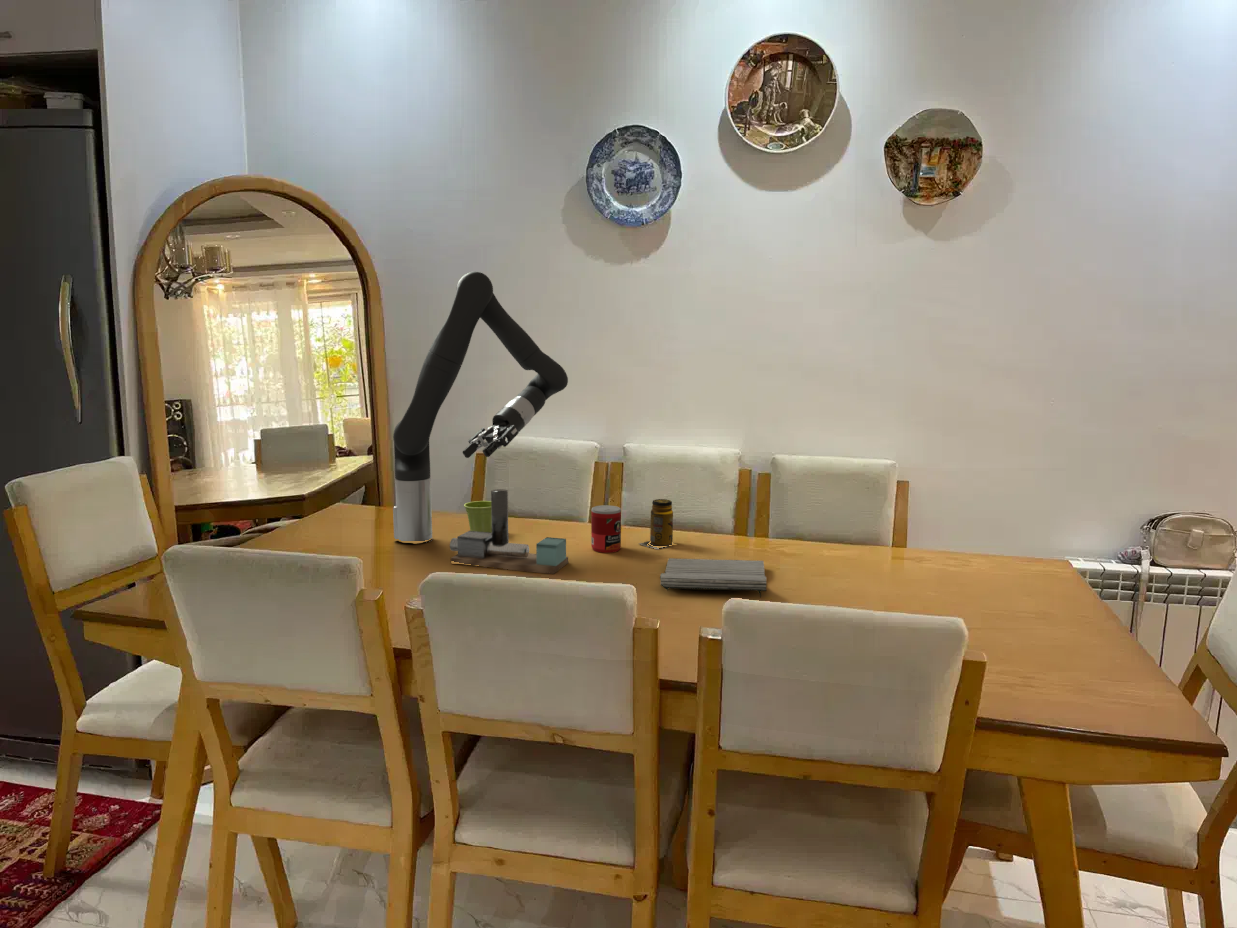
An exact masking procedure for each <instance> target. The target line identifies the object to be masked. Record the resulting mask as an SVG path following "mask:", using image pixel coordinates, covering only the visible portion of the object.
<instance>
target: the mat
mask: <svg viewBox="0 0 1237 928" xmlns="http://www.w3.org/2000/svg"><path fill="white" fill-rule="evenodd" d="M765 571H766V570H765V563H764V560H754V559H753V560H752V559H751V560H745V559H743V560H742V559H741V560H740V559H713V558H712V559H710V558H709V559H708V558H706V559H705V558H702V559H701V558H673V557H672V558H671V557H670V558H668V560H667V563H666V567H665V570H664V573H663V572H661V573H660V577H659V579H660V586H661V587H662V588H664V589H665V590H666V591H668V590H669V589H673V590H674V589H675V590H677V589H678V590H719V591H720V590H726V591H754V592H755V591H756V592H758V594H759V597H760V598H761V599H762V595H761V592H767V576H766V575H765V574H766V572H765Z"/></svg>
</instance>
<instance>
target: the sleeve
mask: <svg viewBox="0 0 1237 928" xmlns="http://www.w3.org/2000/svg"><path fill="white" fill-rule="evenodd" d="M456 538H457V542H458V551H457V554H458V557H469V558H479V559H484V558H485V541H492V533H490V532H478V531H470V530H467V531H466V532H464V533H462V534H460V535H457V537H456Z"/></svg>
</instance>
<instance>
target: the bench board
mask: <svg viewBox="0 0 1237 928" xmlns="http://www.w3.org/2000/svg"><path fill="white" fill-rule="evenodd" d="M451 561H454V562H459V563H464V564H471V565H479V566H484V567H483V568H487V567H494V568H493V569H497V568H503V569H502V570H507V569H508V570H510V571H518V572H519V571H521V572H529V573H530V572H531V573H538V574H550V575H551V574H552V575H555V574H556V573H557V572H558V571H560V570H561V569H562V568H564V567H565V566H566V565H568V564H569V556H566V559H565V560H564V561H562V562H561V563H560V564H558V565H557V566H550V565H539V564H537V561H536V553H531V552H529V554H528V557H527V558H524V557H514V556H503V555H492V554H485V558H484V559H479V558H469V557H458V553H457V554H456V555H454V556H452V557H450V562H451ZM508 570H507V571H508Z"/></svg>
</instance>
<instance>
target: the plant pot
mask: <svg viewBox="0 0 1237 928" xmlns="http://www.w3.org/2000/svg"><path fill="white" fill-rule="evenodd" d="M463 507H464V508H465V512H466V514H467V519H468V525H469V531H478V532H490V533H492V513H491V500H479V501H478V500H476V501H470V502H466V503H464V505H463Z"/></svg>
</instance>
